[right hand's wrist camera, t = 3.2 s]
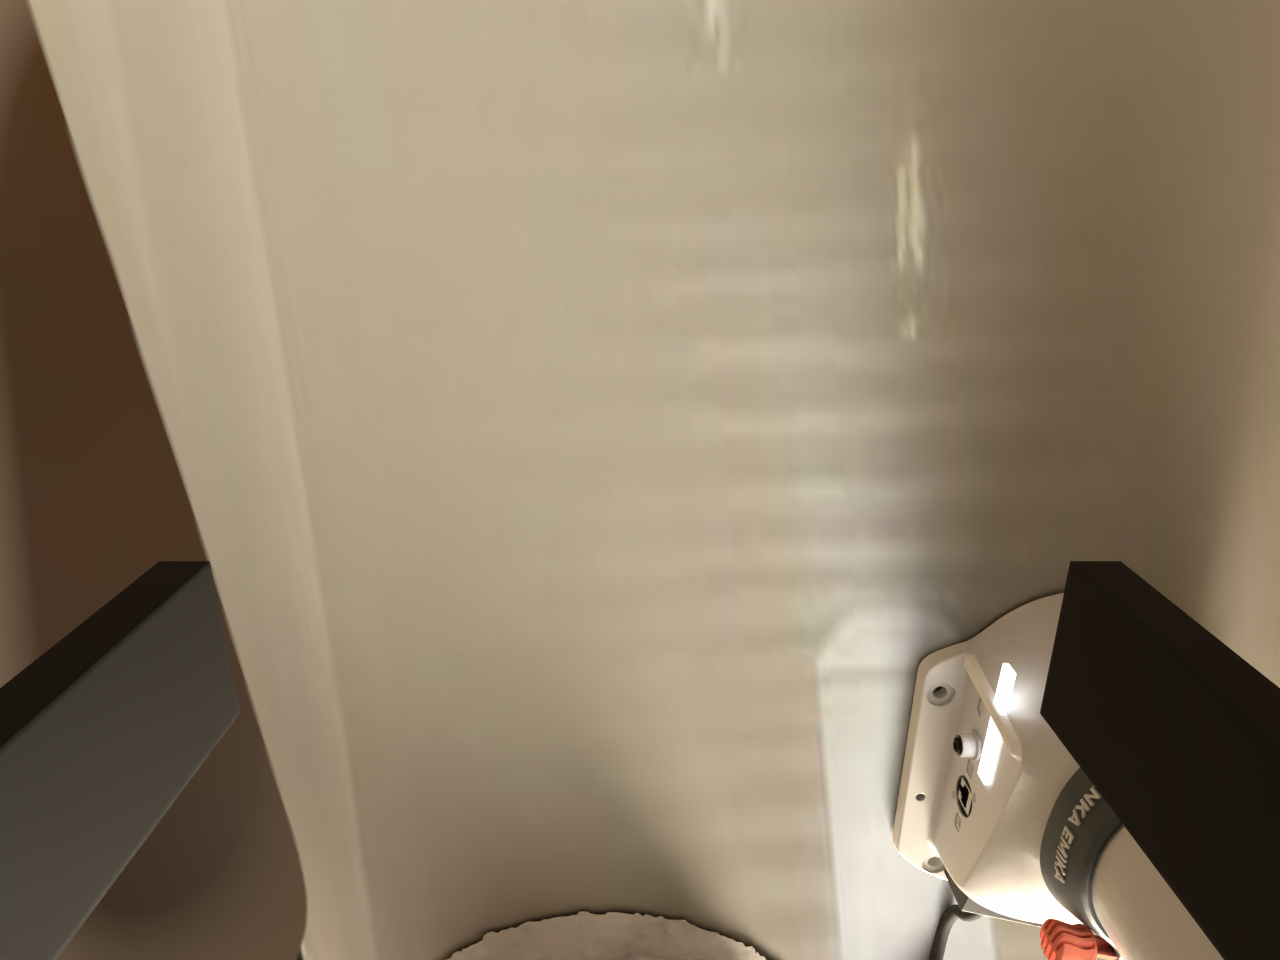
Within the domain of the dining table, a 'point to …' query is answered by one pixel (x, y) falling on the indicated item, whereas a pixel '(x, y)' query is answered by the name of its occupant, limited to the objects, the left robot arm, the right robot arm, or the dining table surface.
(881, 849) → the dining table surface
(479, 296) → the dining table surface
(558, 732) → the dining table surface
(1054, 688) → the right robot arm
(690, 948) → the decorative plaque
